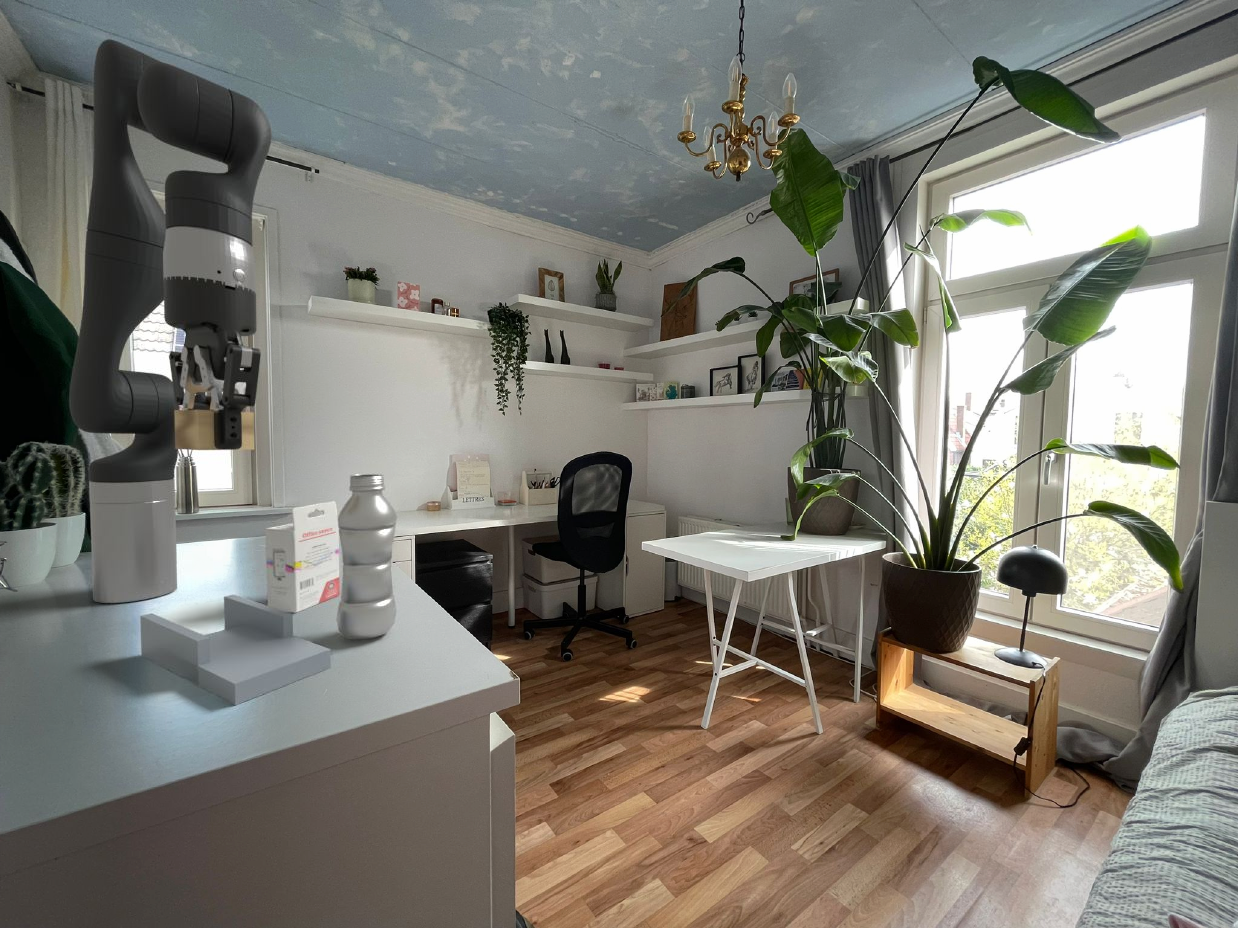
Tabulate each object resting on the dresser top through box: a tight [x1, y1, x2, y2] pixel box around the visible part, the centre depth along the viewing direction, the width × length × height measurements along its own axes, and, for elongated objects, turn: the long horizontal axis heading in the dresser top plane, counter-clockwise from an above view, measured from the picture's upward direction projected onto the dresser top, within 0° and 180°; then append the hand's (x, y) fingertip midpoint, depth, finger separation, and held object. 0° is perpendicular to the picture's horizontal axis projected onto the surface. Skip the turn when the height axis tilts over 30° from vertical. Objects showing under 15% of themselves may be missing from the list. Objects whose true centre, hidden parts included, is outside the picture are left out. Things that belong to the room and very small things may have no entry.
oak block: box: [175, 409, 255, 451], centre depth 54 cm, size 5×5×4 cm
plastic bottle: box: [336, 473, 397, 640], centre depth 63 cm, size 6×7×20 cm
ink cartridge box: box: [264, 500, 341, 614], centre depth 75 cm, size 9×5×15 cm, turn 168°
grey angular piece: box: [139, 594, 331, 706], centre depth 56 cm, size 20×9×4 cm, turn 61°
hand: (214, 447), depth 54 cm, fingers closed on oak block, 5 cm apart
